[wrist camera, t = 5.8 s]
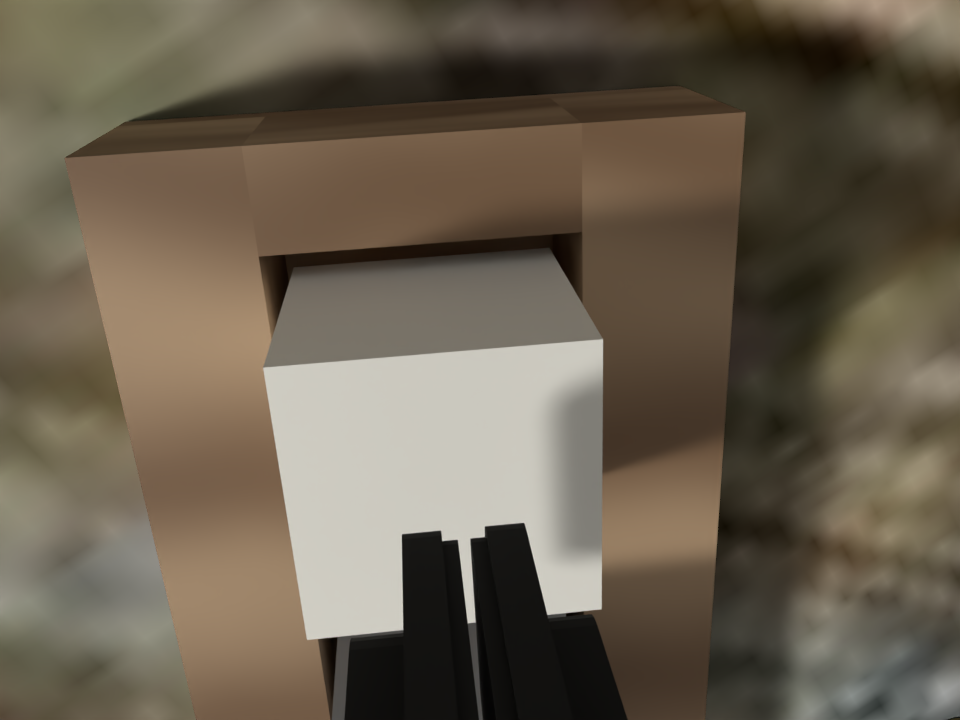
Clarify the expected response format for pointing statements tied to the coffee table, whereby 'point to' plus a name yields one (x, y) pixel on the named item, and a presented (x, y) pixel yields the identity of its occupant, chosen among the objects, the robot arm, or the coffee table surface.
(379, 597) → the key ivory
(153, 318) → the wooden slotted tray
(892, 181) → the coffee table surface
